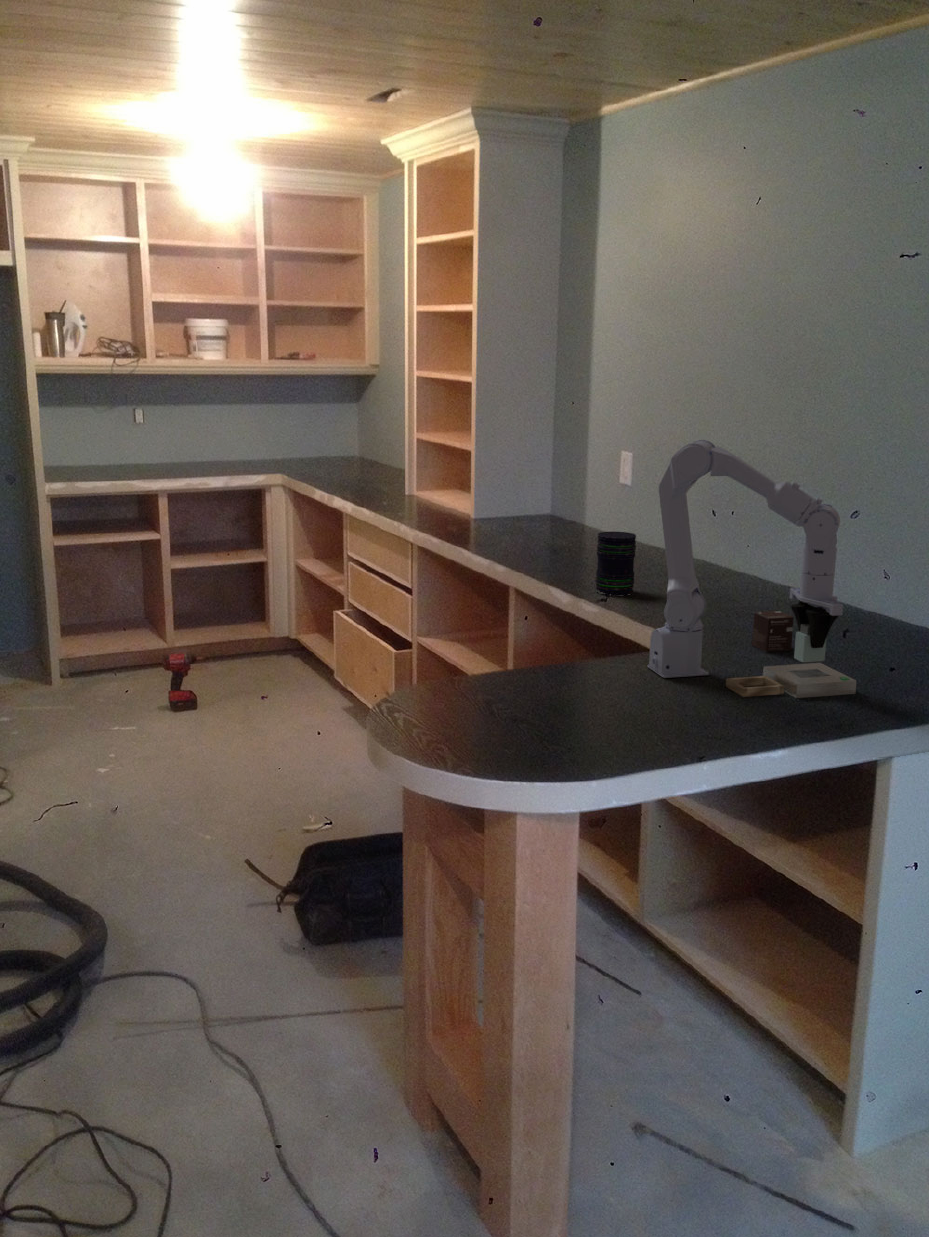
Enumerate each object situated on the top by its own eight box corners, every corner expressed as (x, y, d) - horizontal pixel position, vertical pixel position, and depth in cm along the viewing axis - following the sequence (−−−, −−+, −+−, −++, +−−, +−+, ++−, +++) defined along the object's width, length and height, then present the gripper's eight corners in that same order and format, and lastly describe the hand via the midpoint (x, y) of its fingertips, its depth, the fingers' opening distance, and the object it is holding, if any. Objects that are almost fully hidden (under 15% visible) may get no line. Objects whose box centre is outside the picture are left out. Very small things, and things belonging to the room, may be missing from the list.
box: (765, 653, 228) (768, 618, 226) (750, 645, 233) (753, 611, 232) (791, 651, 229) (794, 616, 228) (776, 643, 235) (779, 610, 233)
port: (796, 698, 198) (797, 683, 198) (762, 679, 209) (763, 665, 209) (855, 693, 201) (856, 679, 200) (819, 675, 212) (820, 661, 212)
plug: (802, 662, 202) (805, 627, 200) (794, 657, 205) (796, 623, 203) (824, 660, 203) (827, 626, 202) (815, 656, 206) (818, 622, 204)
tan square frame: (742, 696, 199) (743, 688, 198) (725, 686, 205) (726, 678, 204) (783, 694, 200) (784, 686, 200) (765, 683, 207) (765, 675, 206)
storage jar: (641, 594, 280) (643, 536, 277) (606, 597, 277) (609, 538, 273) (621, 587, 289) (624, 530, 286) (588, 589, 286) (590, 532, 282)
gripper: (860, 579, 194) (853, 654, 197) (815, 564, 208) (809, 634, 211) (825, 581, 193) (818, 656, 196) (782, 565, 206) (776, 636, 209)
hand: (811, 645), depth 203 cm, fingers closed on plug, 3 cm apart
